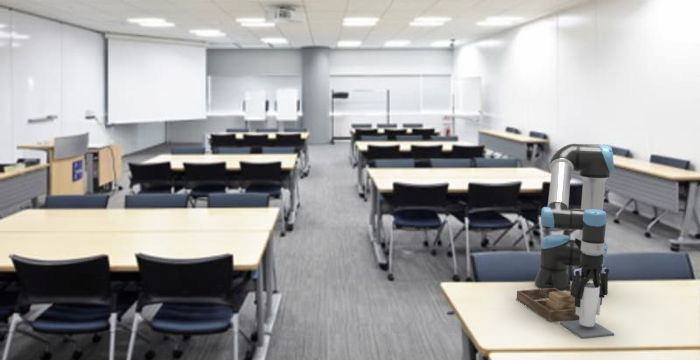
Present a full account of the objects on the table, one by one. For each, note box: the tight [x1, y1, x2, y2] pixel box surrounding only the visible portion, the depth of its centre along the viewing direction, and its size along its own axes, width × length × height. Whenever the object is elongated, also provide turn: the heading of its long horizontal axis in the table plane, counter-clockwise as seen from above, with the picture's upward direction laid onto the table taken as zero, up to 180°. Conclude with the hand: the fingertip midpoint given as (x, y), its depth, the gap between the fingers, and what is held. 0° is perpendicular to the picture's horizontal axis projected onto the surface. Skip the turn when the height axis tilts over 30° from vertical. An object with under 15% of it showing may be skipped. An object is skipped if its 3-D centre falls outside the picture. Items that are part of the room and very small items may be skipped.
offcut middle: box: [545, 298, 576, 311], centre depth 215 cm, size 9×7×3 cm
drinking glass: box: [578, 281, 600, 327], centre depth 200 cm, size 7×7×15 cm
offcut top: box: [548, 290, 575, 305], centre depth 214 cm, size 8×6×3 cm
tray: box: [516, 288, 579, 323], centre depth 221 cm, size 18×24×4 cm
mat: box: [559, 319, 615, 340], centre depth 201 cm, size 13×13×1 cm
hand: (587, 314), depth 200 cm, fingers closed on drinking glass, 6 cm apart
